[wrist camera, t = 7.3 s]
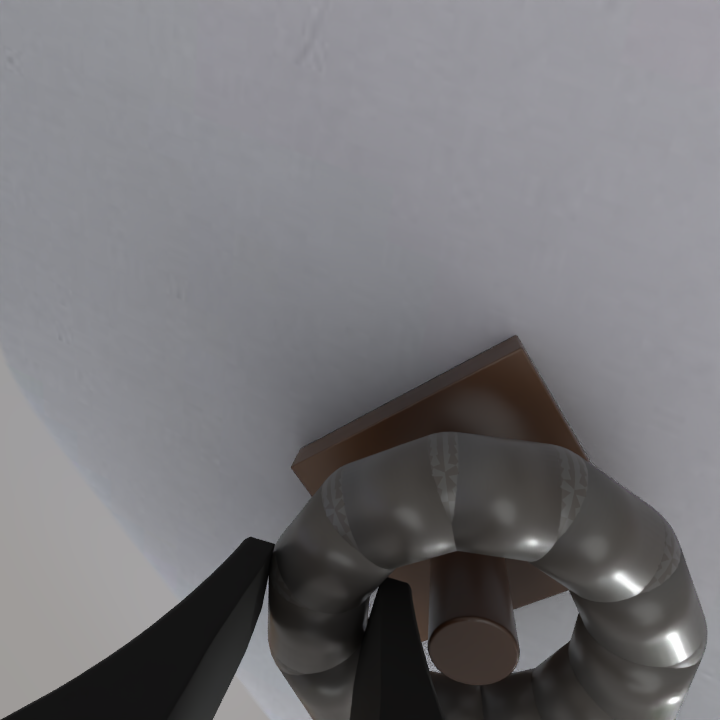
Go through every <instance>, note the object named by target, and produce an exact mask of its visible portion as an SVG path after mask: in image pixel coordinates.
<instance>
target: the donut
mask: <svg viewBox="0 0 720 720" xmlns="http://www.w3.org/2000/svg"><path fill="white" fill-rule="evenodd" d="M455 551H462V552H469V553H475V554H482V555H489V556H495V557H502V558H509V559H515V560H522V561H527V562H529V563H530V564H532V565H533V566H535V567H536V568H538V569H539V570H541V571H542V572H544V573H545V574H547V575H548V576H550V577H551V578H553V579H554V580H556V581H557V582H559V583H560V584H562V585H563V586H565V587H566V588H568V589H569V591H570V593H571V595H572V598H573V600H574V602H575V605H576V607H577V609H578V612H579V614H578V617H577V621H576V624H575V627H574V631H573V634H572V638H571V640H570V641H569V642H568V643H567V644H565V645H564V646H563V647H561V648H560V649H559V650H558V651H556V652H555V653H554V654H553V655H551V656H550V657H549V658H547V659H546V660H545V661H544V662H542V663H541V664H540V665H539V666H537V667H536V668H534V669H529V670H524V671H520V672H515V673H511V674H510V675H509V676H507V677H506V678H504V679H503V680H501V681H498V682H496V683H492V684H487V685H469V684H464V683H460V682H457V681H455V680H453V679H450V678H449V677H447V676H445V675H444V674H443V673H438V672H432V671H429V672H430V675H431V679H432V682H433V685H434V689H435V692H436V695H437V698H438V701H439V704H440V707H441V710H442V713H443V716H444V718H445V720H676V718H677V715H678V713H679V711H680V708H681V706H682V704H683V701H684V699H685V697H686V694H687V692H688V690H689V687H690V685H691V683H692V680H693V678H694V676H695V673H696V671H697V669H698V666H699V664H700V662H701V659H702V657H703V655H704V652H705V649H706V644H707V625H706V620H705V616H704V613H703V610H702V607H701V604H700V601H699V598H698V596H697V593H696V590H695V587H694V584H693V581H692V578H691V575H690V573H689V570H688V567H687V564H686V561H685V558H684V555H683V552H682V549H681V547H680V544H679V541H678V539H677V537H676V535H675V533H674V531H673V529H672V527H671V526H670V525H669V523H668V522H667V521H666V520H665V519H664V517H663V516H662V515H661V514H660V513H659V512H657V511H656V510H655V509H654V508H653V507H651V506H650V505H649V504H647V503H646V502H644V501H643V500H641V499H640V498H639V497H637V496H636V495H634V494H633V493H632V492H630V491H629V490H627V489H626V488H624V487H623V486H622V485H620V484H619V483H617V482H616V481H615V480H613V479H612V478H610V477H609V476H607V475H606V474H605V473H603V472H602V471H600V470H599V469H597V468H596V467H595V466H593V465H592V464H590V463H589V462H588V461H586V460H585V459H583V458H582V457H580V456H579V455H577V454H575V453H574V452H572V451H570V450H568V449H566V448H563V447H561V446H557V445H553V444H547V443H539V442H531V441H524V440H516V439H508V438H500V437H492V436H484V435H477V434H469V433H461V432H439V433H434V434H430V435H427V436H425V437H422V438H419V439H416V440H413V441H410V442H408V443H405V444H402V445H399V446H396V447H393V448H391V449H388V450H385V451H382V452H379V453H376V454H374V455H371V456H368V457H365V458H362V459H359V460H357V461H354V462H351V463H348V464H346V465H344V466H342V467H340V468H339V469H337V470H336V471H335V472H333V473H332V474H331V475H330V476H329V477H328V478H327V479H326V480H325V482H324V483H323V484H322V485H321V487H320V488H319V489H318V490H317V492H316V493H315V494H314V495H313V497H312V498H311V499H310V500H309V502H308V503H307V504H306V505H305V506H304V508H303V509H302V510H301V511H300V513H299V514H298V515H297V516H296V518H295V519H294V520H293V521H292V523H291V524H290V525H289V526H288V528H287V529H286V530H285V531H284V533H283V534H282V535H281V536H280V538H279V539H278V541H277V543H276V545H275V547H274V551H273V555H272V558H271V562H270V567H269V594H268V642H269V647H270V651H271V655H272V657H273V659H274V661H275V663H276V665H277V666H278V668H279V669H280V671H281V672H282V674H283V675H284V677H285V678H286V680H287V681H288V683H289V684H290V686H291V687H292V689H293V690H294V692H295V693H296V695H297V696H298V698H299V699H300V701H301V702H302V704H303V705H304V707H305V708H306V710H307V711H308V713H309V714H310V716H311V717H312V719H313V720H350V712H351V703H352V693H353V685H354V679H355V674H356V669H357V664H358V659H359V654H360V649H361V645H362V640H363V636H364V633H365V629H366V626H367V623H368V620H369V618H368V609H369V599H370V595H371V594H372V593H373V592H374V591H375V590H376V589H377V587H378V586H379V585H380V584H381V583H382V582H383V581H384V580H385V579H386V578H387V577H388V576H389V575H390V574H391V573H392V572H393V571H394V570H395V569H396V568H399V567H402V566H406V565H409V564H413V563H416V562H420V561H423V560H427V559H430V558H434V557H437V556H441V555H444V554H448V553H451V552H455Z"/></svg>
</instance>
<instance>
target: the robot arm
mask: <svg viewBox="0 0 720 720" xmlns="http://www.w3.org/2000/svg"><path fill="white" fill-rule="evenodd" d="M274 547H275V544H273V543H270V542H266V541H263V540H260V539H256V538H253V537H249V538H247V539H245V540H244V541H243V542H242V543H241V544H240V546H239V547H238V548H237V549H236V550H235V551H234V552H233V553H232V554H231V555H230V556H229V557H228V558H227V559H226V560H225V562H224V563H223V564H222V565H220V566H219V567H218V568H217V569H216V570H215V571H214V572H213V573H212V574H211V575H210V576H209V577H208V578H207V579H206V580H205V581H204V582H203V583H201V584H200V585H199V586H198V587H197V588H196V589H195V590H194V591H193V592H191V593H190V594H189V595H188V596H187V597H186V598H185V599H184V600H182V601H181V602H180V603H179V604H178V605H176V606H175V607H174V608H173V609H171V610H170V611H169V612H168V613H166V614H165V615H164V616H163V617H162V618H160V619H159V620H158V621H157V622H156V623H154V624H153V625H152V626H150V627H149V628H148V629H146V630H145V631H144V632H142V633H141V634H140V635H138V636H137V637H136V638H134V639H133V640H131V641H130V642H129V643H127V644H126V645H125V646H123V647H122V648H120V649H119V650H117V651H116V652H114V653H113V654H112V655H110V656H109V657H107V658H106V659H104V660H102V661H101V662H99V663H98V664H96V665H95V666H93V667H91V668H90V669H88V670H87V671H85V672H84V673H82V674H81V675H79V676H77V677H76V678H74V679H73V680H71V681H69V682H68V683H66V684H64V685H63V686H61V687H59V688H58V689H56V690H54V691H52V692H50V693H49V694H47V695H45V696H43V697H41V698H39V699H38V700H36V701H34V702H32V703H30V704H28V705H27V706H25V707H23V708H21V709H20V710H18V711H16V712H14V713H12V714H10V715H8V716H7V717H5V718H3V719H1V720H213V718H214V716H215V714H216V712H217V710H218V707H219V706H220V703H221V701H222V699H223V697H224V695H225V693H226V691H227V689H228V687H229V685H230V683H231V681H232V679H233V677H234V675H235V673H236V671H237V669H238V667H239V665H240V662H241V660H242V658H243V656H244V654H245V652H246V649H247V647H248V644H249V641H250V639H251V636H252V633H253V631H254V628H255V625H256V623H257V620H258V617H259V615H260V612H261V609H262V605H263V600H264V595H265V590H266V585H267V581H268V576H269V567H270V562H271V558H272V555H273V551H274ZM350 720H445V718H444V716H443V713H442V710H441V707H440V704H439V701H438V698H437V695H436V692H435V689H434V685H433V682H432V679H431V675H430V672H429V668H428V665H427V661H426V658H425V654H424V650H423V646H422V642H421V638H420V634H419V630H418V625H417V621H416V616H415V610H414V605H413V598H412V590H411V587H410V585H409V584H408V583H406V582H403V581H399V580H396V579H393V578H389V577H387V578H386V579H385V580H384V581H383V582H382V583H381V584H380V585H379V588H378V591H377V594H376V597H375V601H374V604H373V607H372V610H371V613H370V617H369V620H368V623H367V626H366V629H365V633H364V636H363V640H362V645H361V649H360V654H359V659H358V664H357V669H356V674H355V679H354V685H353V693H352V703H351V712H350Z"/></svg>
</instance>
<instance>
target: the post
mask: <svg viewBox="0 0 720 720" xmlns="http://www.w3.org/2000/svg"><path fill="white" fill-rule="evenodd" d="M439 432H461V433H469V434H477V435H484V436H492V437H500V438H508V439H516V440H524V441H531V442H539V443H547V444H553V445H557V446H561V447H563V448H566V449H568V450H570V451H572V452H574V453H575V454H577V455H579V456H580V457H582V458H583V459H585V460H586V461H588V462H589V463H590V464H591V462H590V461H589V459H588V457H587V455H586V454H585V452H584V450H583V449H582V447H581V445H580V443H579V442H578V440H577V438H576V436H575V435H574V433H573V431H572V430H571V428H570V426H569V424H568V423H567V421H566V419H565V417H564V416H563V414H562V412H561V411H560V409H559V407H558V405H557V404H556V402H555V400H554V398H553V397H552V395H551V393H550V392H549V390H548V388H547V386H546V385H545V383H544V381H543V379H542V378H541V376H540V374H539V372H538V371H537V369H536V367H535V366H534V364H533V362H532V360H531V359H530V357H529V355H528V353H527V352H526V350H525V348H524V347H523V345H522V343H521V341H520V340H519V338H518V336H513V337H511V338H509V339H508V340H506V341H504V342H502V343H500V344H498V345H496V346H494V347H492V348H490V349H489V350H487V351H485V352H483V353H481V354H479V355H477V356H475V357H473V358H472V359H470V360H468V361H466V362H464V363H462V364H460V365H458V366H456V367H455V368H453V369H451V370H449V371H447V372H445V373H443V374H441V375H439V376H438V377H436V378H434V379H432V380H430V381H428V382H426V383H424V384H422V385H420V386H419V387H417V388H415V389H413V390H411V391H409V392H407V393H405V394H403V395H402V396H400V397H398V398H396V399H394V400H392V401H390V402H388V403H386V404H385V405H383V406H381V407H379V408H377V409H375V410H373V411H371V412H369V413H368V414H366V415H364V416H362V417H360V418H358V419H356V420H354V421H352V422H350V423H349V424H347V425H345V426H343V427H341V428H339V429H337V430H335V431H333V432H332V433H330V434H328V435H326V436H324V437H322V438H320V439H318V440H316V441H315V442H313V443H311V444H309V445H307V446H305V447H303V448H301V449H300V450H299V452H298V454H297V456H296V458H295V460H294V462H293V464H292V466H291V469H292V470H293V471H294V473H295V474H296V475H297V477H298V478H299V480H300V481H301V482H302V484H303V485H304V486H305V488H306V489H307V490H308V492H309V493H310V494H311V496H312V497H313V495H314V494H315V493H316V492H317V490H318V489H319V488H320V487H321V485H322V484H323V483H324V482H325V480H326V479H327V478H328V477H329V476H330V475H331V474H332V473H333V472H335V471H336V470H337V469H339V468H340V467H342V466H344V465H346V464H348V463H351V462H354V461H357V460H359V459H362V458H365V457H368V456H371V455H374V454H376V453H379V452H382V451H385V450H388V449H391V448H393V447H396V446H399V445H402V444H405V443H408V442H410V441H413V440H416V439H419V438H422V437H425V436H427V435H430V434H434V433H439ZM388 577H389V578H393V579H396V580H399V581H403V582H406V583H408V584H409V585H410V587H411V590H412V598H413V605H414V610H415V616H416V621H417V625H418V630H419V634H420V638H421V642H423V641H426V640H428V652H429V655H430V658H431V660H432V662H433V663H434V665H435V666H436V668H437V669H438V670H439V671H440V672H441V673H443V674H444V675H445V676H447V677H449V678H450V679H453V680H455V681H457V682H460V683H464V684H469V685H487V684H492V683H496V682H498V681H501V680H503V679H504V678H506V677H507V676H509V675H510V674H511V673H512V672H513V670H514V669H515V667H516V666H517V663H518V660H519V656H520V649H519V643H518V637H517V630H516V624H515V618H514V612H513V610H514V609H517V608H520V607H522V606H525V605H528V604H531V603H534V602H537V601H539V600H542V599H545V598H548V597H551V596H554V595H556V594H559V593H562V592H565V591H568V590H569V589H568V588H566V587H565V586H563V585H562V584H560V583H559V582H557V581H556V580H554V579H553V578H551V577H550V576H548V575H547V574H545V573H544V572H542V571H541V570H539V569H538V568H536V567H535V566H533V565H532V564H530V563H529V562H527V561H522V560H515V559H509V558H502V557H495V556H489V555H482V554H475V553H469V552H462V551H455V552H451V553H448V554H444V555H441V556H437V557H434V558H430V559H427V560H423V561H420V562H416V563H413V564H409V565H406V566H402V567H399V568H396V569H395V570H394V571H393V572H392V573H391V574H390V575H389V576H388Z"/></svg>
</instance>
